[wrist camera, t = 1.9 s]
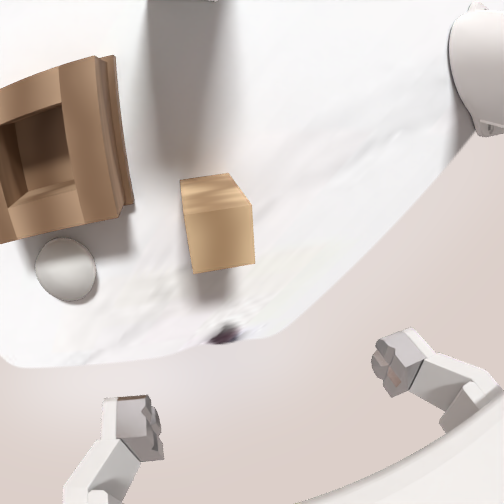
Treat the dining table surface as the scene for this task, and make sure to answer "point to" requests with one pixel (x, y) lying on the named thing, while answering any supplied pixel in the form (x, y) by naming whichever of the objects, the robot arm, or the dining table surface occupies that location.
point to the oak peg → (217, 223)
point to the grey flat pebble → (65, 269)
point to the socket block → (62, 150)
